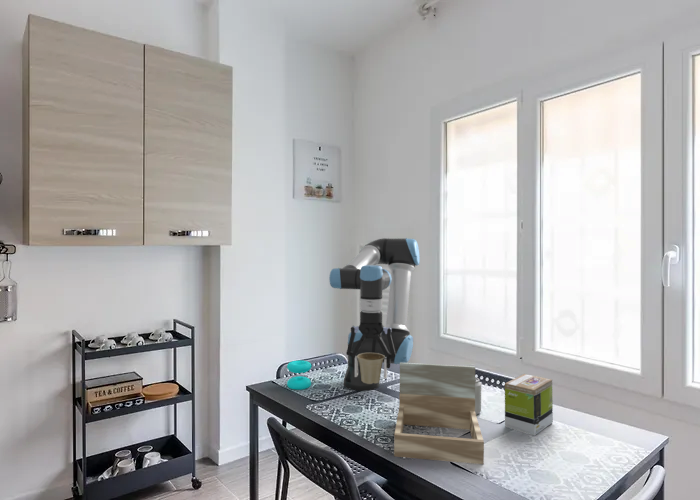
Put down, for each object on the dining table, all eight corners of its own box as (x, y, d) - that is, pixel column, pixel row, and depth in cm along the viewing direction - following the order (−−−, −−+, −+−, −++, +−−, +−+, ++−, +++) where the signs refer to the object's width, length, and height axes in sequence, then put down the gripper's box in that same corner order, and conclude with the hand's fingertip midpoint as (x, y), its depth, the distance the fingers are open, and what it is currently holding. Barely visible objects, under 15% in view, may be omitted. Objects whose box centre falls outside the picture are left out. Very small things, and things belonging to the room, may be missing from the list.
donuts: (308, 366, 176) (284, 365, 178) (308, 391, 177) (283, 390, 178) (313, 360, 186) (290, 359, 188) (313, 383, 186) (290, 382, 188)
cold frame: (399, 422, 146) (400, 362, 146) (474, 428, 142) (474, 366, 142) (394, 456, 123) (394, 384, 122) (483, 464, 119) (484, 390, 118)
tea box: (523, 415, 154) (524, 372, 154) (553, 423, 147) (554, 379, 147) (503, 427, 143) (504, 381, 143) (534, 437, 136) (535, 389, 136)
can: (477, 417, 151) (478, 382, 151) (456, 413, 155) (456, 379, 155) (483, 410, 157) (483, 377, 157) (462, 406, 161) (463, 374, 161)
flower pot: (385, 377, 154) (385, 352, 154) (384, 386, 145) (384, 360, 145) (358, 376, 155) (358, 352, 155) (355, 385, 146) (355, 359, 146)
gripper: (337, 311, 148) (337, 378, 148) (403, 313, 144) (402, 382, 145) (341, 308, 155) (341, 371, 156) (404, 310, 151) (403, 375, 152)
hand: (370, 376), depth 150 cm, fingers closed on flower pot, 9 cm apart
